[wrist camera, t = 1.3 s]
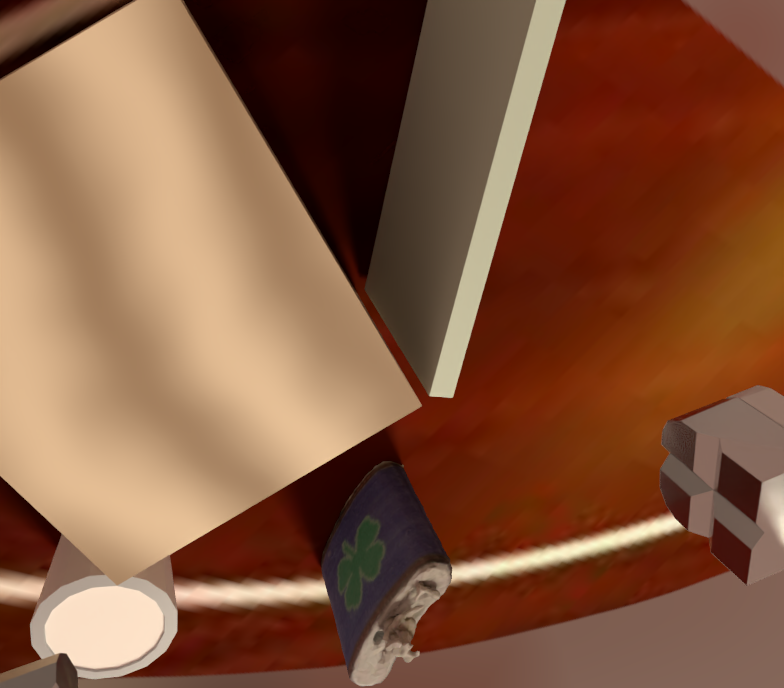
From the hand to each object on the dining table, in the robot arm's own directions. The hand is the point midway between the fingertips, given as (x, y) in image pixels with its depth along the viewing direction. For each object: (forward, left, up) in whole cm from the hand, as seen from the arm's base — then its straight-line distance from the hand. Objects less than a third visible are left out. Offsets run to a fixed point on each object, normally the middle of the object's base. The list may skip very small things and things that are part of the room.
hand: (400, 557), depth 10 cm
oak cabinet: (+6, +2, -29) cm, 30 cm away
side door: (-8, +4, -29) cm, 30 cm away
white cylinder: (+18, +16, -29) cm, 38 cm away
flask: (+6, +24, -29) cm, 38 cm away
